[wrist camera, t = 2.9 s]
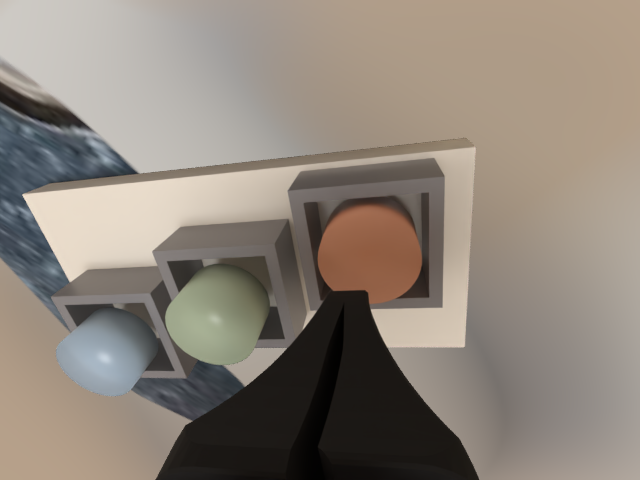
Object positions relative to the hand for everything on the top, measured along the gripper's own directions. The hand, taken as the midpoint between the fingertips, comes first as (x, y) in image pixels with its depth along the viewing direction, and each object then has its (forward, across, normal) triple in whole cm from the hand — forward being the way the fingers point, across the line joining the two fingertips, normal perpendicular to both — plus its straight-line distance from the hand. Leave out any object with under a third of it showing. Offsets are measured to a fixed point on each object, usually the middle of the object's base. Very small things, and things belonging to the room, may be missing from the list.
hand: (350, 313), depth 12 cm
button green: (+4, +7, +2) cm, 8 cm away
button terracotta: (+5, -1, 0) cm, 6 cm away
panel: (+9, +7, +2) cm, 11 cm away
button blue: (+4, +14, +5) cm, 16 cm away
